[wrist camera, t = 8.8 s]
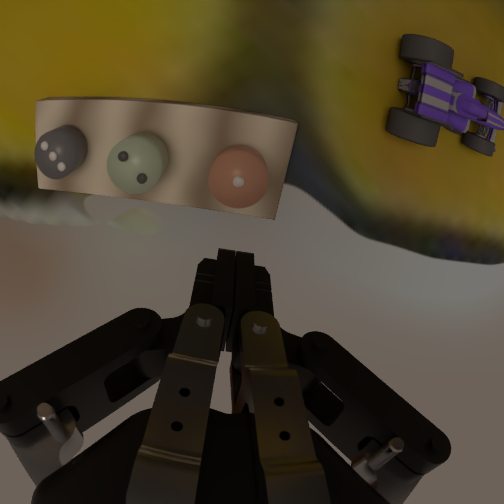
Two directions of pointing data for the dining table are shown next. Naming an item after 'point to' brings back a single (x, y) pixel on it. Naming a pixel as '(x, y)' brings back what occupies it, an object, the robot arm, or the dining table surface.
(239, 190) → the button
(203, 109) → the button board
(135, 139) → the button
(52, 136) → the button
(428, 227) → the dining table surface
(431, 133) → the toy race car
